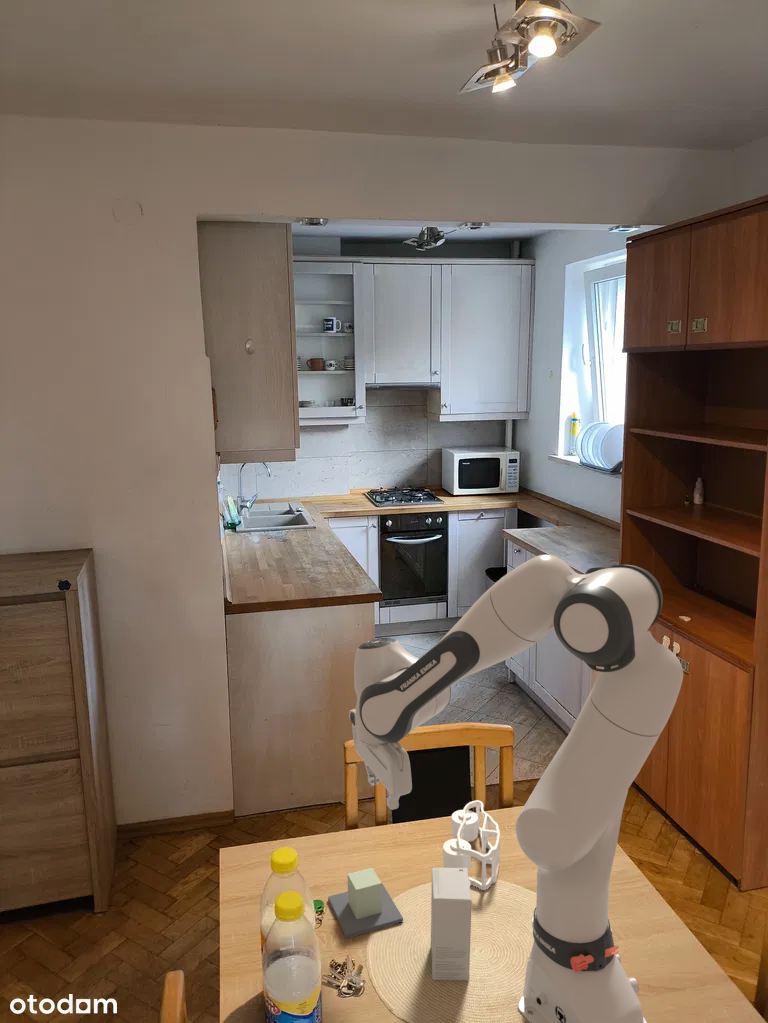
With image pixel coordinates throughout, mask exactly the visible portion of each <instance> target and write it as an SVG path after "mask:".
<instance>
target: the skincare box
mask: <svg viewBox="0 0 768 1023" xmlns="http://www.w3.org/2000/svg"><path fill="white" fill-rule="evenodd" d="M469 878H470V876H469V871H468V870H467V868H444V867H431V907H430V908H431V909H430V912H431V913H430V915H431V918H430V957H431V973H432V974H431V978H432V981H454V980H469V981H470V965H471V963H470V962H471V959H470V958H471V956H470V955H471V932H472V931H471V930H472V928H471V927H472V904H473V901H472V892H471V886H472V885H471V883H470V881H469Z"/></svg>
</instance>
